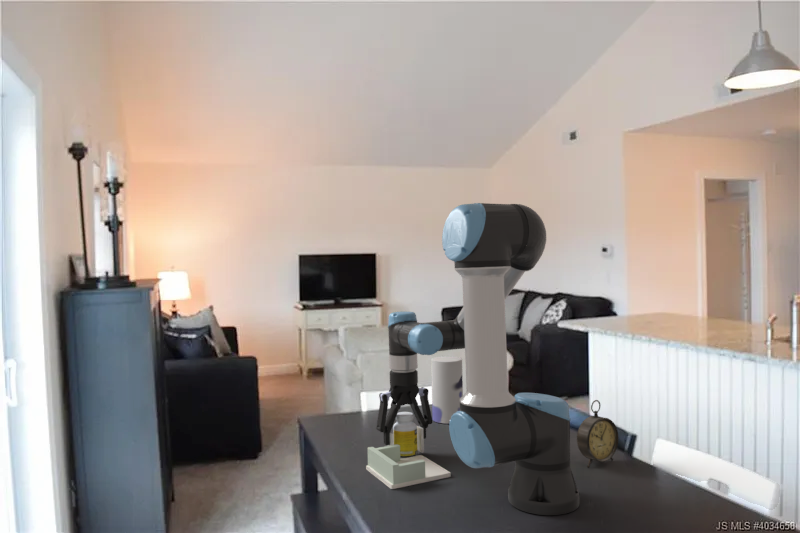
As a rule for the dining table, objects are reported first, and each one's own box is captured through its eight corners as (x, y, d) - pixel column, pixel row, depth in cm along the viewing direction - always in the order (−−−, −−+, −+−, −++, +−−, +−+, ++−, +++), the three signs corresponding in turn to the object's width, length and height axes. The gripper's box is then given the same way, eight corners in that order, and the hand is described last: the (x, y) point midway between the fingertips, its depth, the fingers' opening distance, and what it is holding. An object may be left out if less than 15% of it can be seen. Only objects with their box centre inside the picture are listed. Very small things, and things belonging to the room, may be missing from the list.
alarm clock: (589, 470, 152) (588, 405, 152) (573, 464, 157) (572, 400, 157) (620, 462, 158) (619, 399, 157) (603, 456, 162) (602, 395, 162)
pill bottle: (415, 461, 162) (414, 417, 162) (391, 460, 163) (390, 416, 163) (419, 453, 168) (418, 411, 168) (396, 452, 170) (395, 410, 169)
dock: (450, 476, 150) (450, 454, 150) (391, 489, 143) (390, 465, 143) (421, 458, 164) (421, 438, 164) (366, 469, 157) (365, 447, 157)
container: (464, 423, 195) (463, 360, 195) (433, 424, 196) (431, 361, 195) (462, 415, 205) (460, 355, 205) (431, 415, 206) (430, 356, 205)
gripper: (431, 363, 173) (433, 443, 174) (361, 371, 164) (363, 456, 164) (444, 367, 166) (446, 451, 167) (373, 376, 157) (375, 464, 158)
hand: (405, 453), depth 166 cm, fingers open, 8 cm apart
